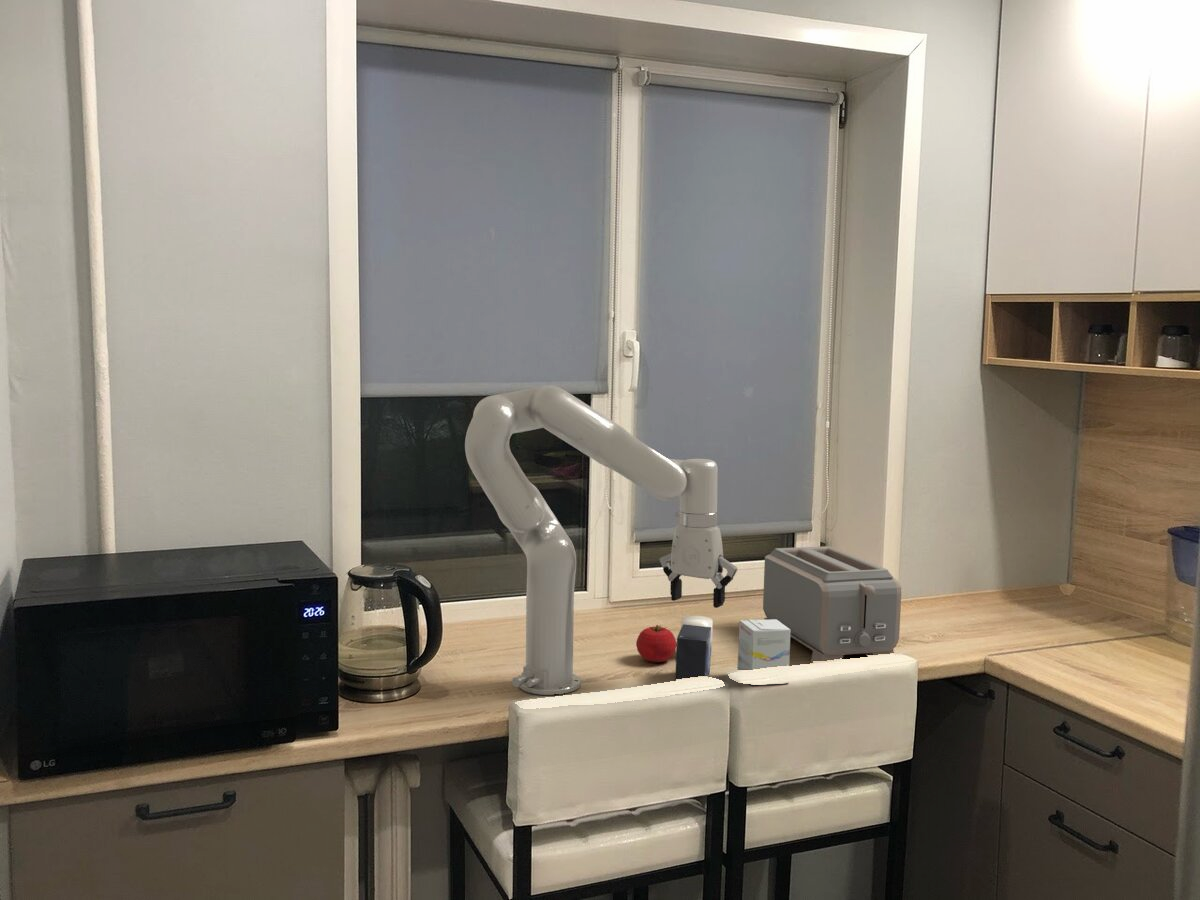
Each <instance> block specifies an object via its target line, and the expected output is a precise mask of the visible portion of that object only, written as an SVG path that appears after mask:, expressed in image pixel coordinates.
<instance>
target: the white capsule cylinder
mask: <svg viewBox="0 0 1200 900" xmlns="http://www.w3.org/2000/svg"><path fill="white" fill-rule="evenodd" d="M713 620H714V619H712V618H711V617H708V616H704V615H685V616H683V617H681V619H680V629H681V628H682V626H683V624H686V625H695V626H703V627H711V657H712V655H713V653H712V652H713V625H714V624H713V623H714V621H713Z"/></svg>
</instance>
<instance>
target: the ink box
mask: <svg viewBox="0 0 1200 900" xmlns="http://www.w3.org/2000/svg"><path fill="white" fill-rule="evenodd" d="M738 629H739V630H738V631H739V632H738V649H737V667H736V668H737V669H736V670H753V669H760V668H767V667H777V666H787V665H789V666H790V656H791V655H790V654H791V653H790V652H791V651H790V649H791V637H790V632H791V630H790V629H789V628H788V627H786V626H785V625H783V624H782V623H781V622H779V621H778V620H777V619H771V620H764V619H740V620H739V628H738Z"/></svg>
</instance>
